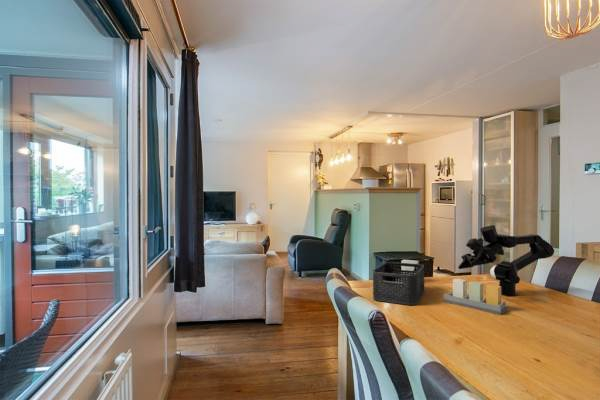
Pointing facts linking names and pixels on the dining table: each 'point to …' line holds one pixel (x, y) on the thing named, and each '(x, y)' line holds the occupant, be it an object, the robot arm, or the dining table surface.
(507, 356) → the dining table surface
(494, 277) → the geometric ball
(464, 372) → the dining table surface
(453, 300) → the grey divided tray
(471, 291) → the pale green tall block
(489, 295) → the orange block
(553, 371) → the dining table surface
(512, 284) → the robot arm
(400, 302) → the storage bin
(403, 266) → the ink box
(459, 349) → the dining table surface
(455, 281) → the white rectangular block
